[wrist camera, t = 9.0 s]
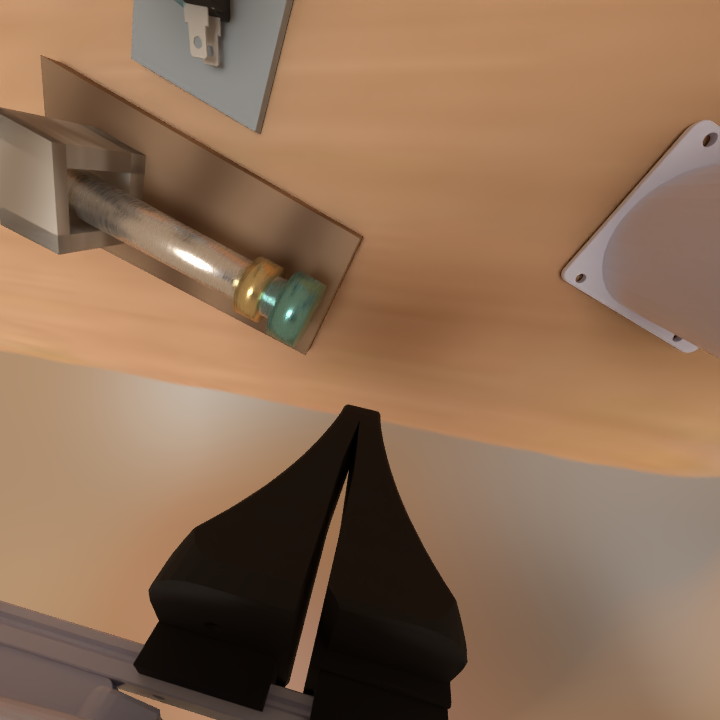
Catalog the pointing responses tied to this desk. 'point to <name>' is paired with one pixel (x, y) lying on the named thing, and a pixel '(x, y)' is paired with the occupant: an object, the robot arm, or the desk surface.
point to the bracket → (156, 190)
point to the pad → (236, 54)
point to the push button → (205, 25)
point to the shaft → (200, 257)
